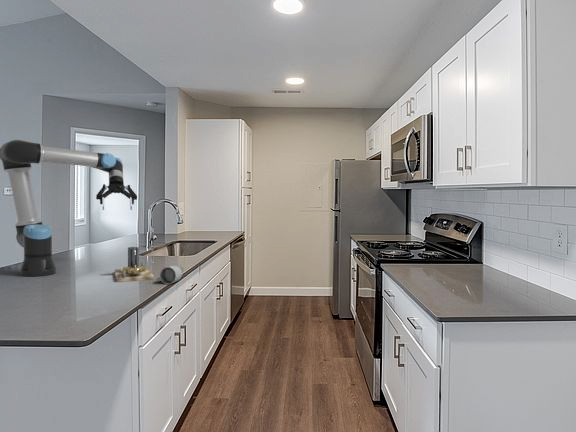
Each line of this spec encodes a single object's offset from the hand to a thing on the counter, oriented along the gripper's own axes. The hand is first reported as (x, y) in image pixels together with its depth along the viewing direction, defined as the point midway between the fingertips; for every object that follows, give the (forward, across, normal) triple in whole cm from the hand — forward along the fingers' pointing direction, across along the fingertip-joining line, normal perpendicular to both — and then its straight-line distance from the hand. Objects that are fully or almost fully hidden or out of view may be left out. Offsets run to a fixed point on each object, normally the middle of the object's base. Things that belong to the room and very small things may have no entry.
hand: (117, 208), depth 224 cm
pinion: (+37, -6, -5) cm, 38 cm away
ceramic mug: (+55, -19, +10) cm, 59 cm away
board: (+40, -6, -5) cm, 41 cm away
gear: (+44, -6, +1) cm, 44 cm away
